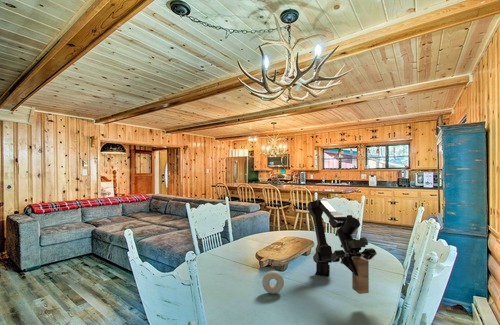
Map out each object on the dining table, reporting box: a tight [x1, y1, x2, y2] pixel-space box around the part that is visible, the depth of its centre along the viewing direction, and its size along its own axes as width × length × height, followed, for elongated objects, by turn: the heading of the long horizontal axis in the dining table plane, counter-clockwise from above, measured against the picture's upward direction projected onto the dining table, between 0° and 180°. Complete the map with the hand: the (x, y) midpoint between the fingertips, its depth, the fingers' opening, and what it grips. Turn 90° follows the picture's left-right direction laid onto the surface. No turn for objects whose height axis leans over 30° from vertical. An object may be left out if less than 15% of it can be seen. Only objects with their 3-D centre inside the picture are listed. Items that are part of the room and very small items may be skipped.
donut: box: [261, 270, 285, 295], centre depth 112 cm, size 10×4×10 cm, turn 92°
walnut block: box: [351, 257, 370, 295], centre depth 101 cm, size 4×4×13 cm
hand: (362, 275), depth 100 cm, fingers closed on walnut block, 4 cm apart
